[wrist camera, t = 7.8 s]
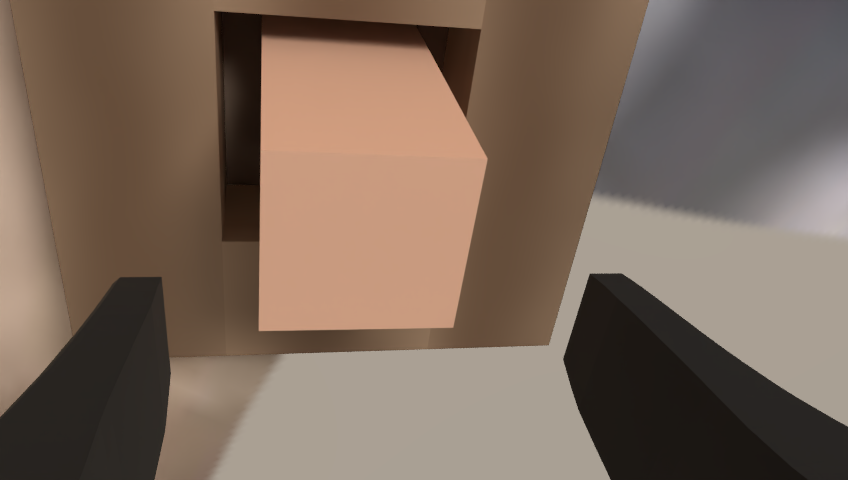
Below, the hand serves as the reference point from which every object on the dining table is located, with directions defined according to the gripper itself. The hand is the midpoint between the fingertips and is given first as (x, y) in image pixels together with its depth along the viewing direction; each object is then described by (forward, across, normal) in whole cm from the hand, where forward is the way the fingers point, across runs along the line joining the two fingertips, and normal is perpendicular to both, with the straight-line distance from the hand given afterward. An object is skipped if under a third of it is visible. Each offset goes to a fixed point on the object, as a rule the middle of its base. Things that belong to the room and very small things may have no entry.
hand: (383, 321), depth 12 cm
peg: (+10, 0, 0) cm, 10 cm away
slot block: (+10, 0, 0) cm, 10 cm away
